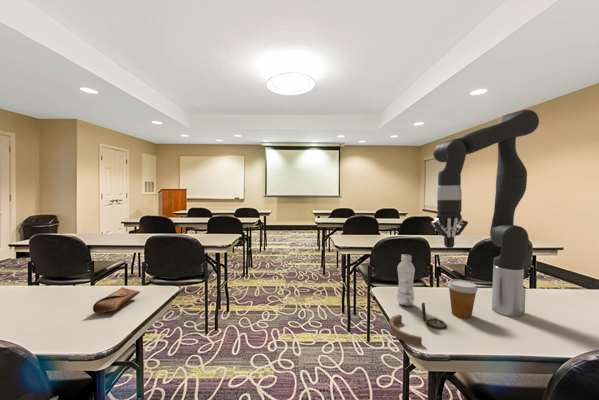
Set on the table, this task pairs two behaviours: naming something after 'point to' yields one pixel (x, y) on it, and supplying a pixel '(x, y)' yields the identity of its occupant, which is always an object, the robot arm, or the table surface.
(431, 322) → the compass
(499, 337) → the table surface
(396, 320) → the brown segmented arc
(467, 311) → the disposable coffee cup
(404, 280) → the plastic bottle
